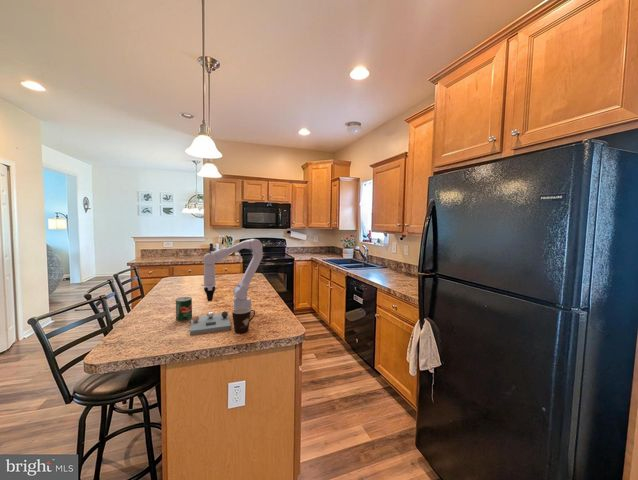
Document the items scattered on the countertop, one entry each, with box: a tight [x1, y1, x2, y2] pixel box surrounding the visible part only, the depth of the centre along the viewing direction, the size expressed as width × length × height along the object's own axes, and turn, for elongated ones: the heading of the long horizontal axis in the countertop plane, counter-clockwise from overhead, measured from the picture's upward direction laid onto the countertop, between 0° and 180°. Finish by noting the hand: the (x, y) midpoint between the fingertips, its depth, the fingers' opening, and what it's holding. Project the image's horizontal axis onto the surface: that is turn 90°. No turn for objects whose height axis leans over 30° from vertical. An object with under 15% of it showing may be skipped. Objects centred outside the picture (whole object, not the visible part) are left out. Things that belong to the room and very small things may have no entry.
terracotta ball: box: [191, 314, 199, 322], centre depth 135 cm, size 3×3×3 cm
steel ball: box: [206, 311, 215, 318], centre depth 141 cm, size 3×3×3 cm
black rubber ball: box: [221, 311, 229, 318], centre depth 142 cm, size 3×3×3 cm
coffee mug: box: [231, 308, 256, 335], centre depth 129 cm, size 12×9×10 cm
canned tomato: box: [175, 296, 193, 322], centre depth 145 cm, size 8×8×11 cm
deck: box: [189, 313, 232, 336], centre depth 136 cm, size 18×20×2 cm
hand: (210, 300), depth 145 cm, fingers closed
